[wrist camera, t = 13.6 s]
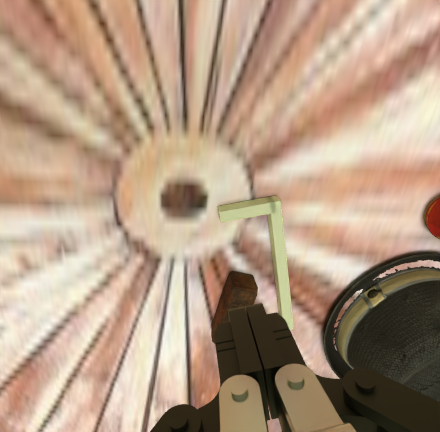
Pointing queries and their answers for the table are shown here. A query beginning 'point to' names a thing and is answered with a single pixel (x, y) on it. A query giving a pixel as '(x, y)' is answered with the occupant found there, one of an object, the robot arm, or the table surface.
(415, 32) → the table surface
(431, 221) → the soda can
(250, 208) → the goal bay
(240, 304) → the brick
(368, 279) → the fedora
